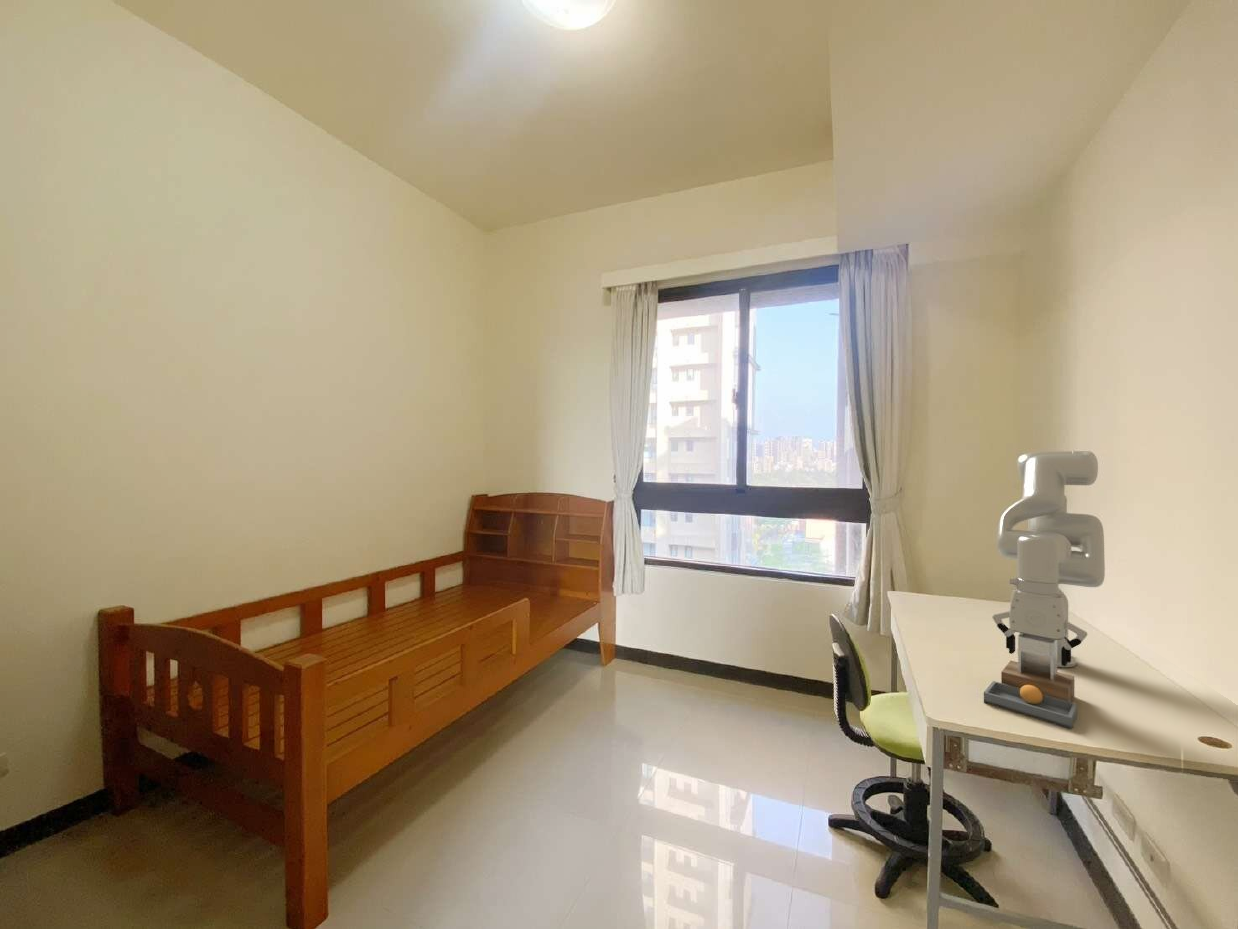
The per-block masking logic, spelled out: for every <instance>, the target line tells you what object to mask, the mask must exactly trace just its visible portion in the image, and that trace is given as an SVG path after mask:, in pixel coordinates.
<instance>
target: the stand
mask: <svg viewBox="0 0 1238 929" xmlns="http://www.w3.org/2000/svg"><path fill="white" fill-rule="evenodd" d="M1000 676H1001V678H1000V679H1001V681H1000V683H1003V684H1007V685H1010V686H1014V687H1018V688H1021V687H1023V686H1024V685H1032V686H1035V687H1036V688H1038V689H1039V690H1040V691H1041V693H1042V694H1043V695H1047V696H1051V697H1054V698H1058V699H1061V700H1065V701H1069V702H1072V703H1074V698H1075V675H1072V674H1067V673H1063V672H1059V671H1057V676H1056V678H1055V680H1054V682H1053V681H1051V673H1047V672H1043V671H1039V670H1035V669H1031V668H1027V667H1025V668H1024V670H1023V671H1022V673H1018V661H1015V660H1010V661H1009V662H1008V663H1007V665H1005V667H1004V668H1003V669H1002V670H1001V675H1000Z"/></svg>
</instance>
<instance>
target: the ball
mask: <svg viewBox="0 0 1238 929" xmlns="http://www.w3.org/2000/svg"><path fill="white" fill-rule="evenodd" d="M1020 695H1021V697H1022V698H1023V699H1024V700H1025V701H1026V702H1028V703H1030V704H1038V703H1040V702H1041V701H1042V699H1043V696H1042V693H1041V691H1040V690H1039V689H1038V688H1036V687H1035V686H1032V685H1024V686H1023V687H1021V689H1020Z"/></svg>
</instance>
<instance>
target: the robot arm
mask: <svg viewBox="0 0 1238 929" xmlns="http://www.w3.org/2000/svg"><path fill="white" fill-rule="evenodd" d="M1016 468H1017V473H1018V476H1019V480H1020V481H1021V484H1022V498H1021V499H1019V500H1018V501H1016V502H1015V503H1013V504H1011V505H1010V506H1009V507H1008V508H1007V509H1006V510H1004V512H1003V513H1002V514H1001V516H1000V518H999V520H998V524H997V525H998V526H997V534H996V549H997V551H998V554H1000V556H1002V557H1003V558H1006V559H1011V560H1016V566H1017V567H1016V568H1017V570H1016V571H1017V572H1016V573H1017V574H1016V576H1017V577H1016V578H1009V584H1010V585H1013V586H1015V587H1016V588H1015V589H1013V590H1012V592H1011V597H1010V604H1009V611H1004V612H1001V613H996V614H994V615H992V620H993V621H994V622H995V624H996V627H997V628H998V630H1000V631H1001V633H1003V635H1004V636H1005V644H1006V645H1005V648H1006V649H1007V650H1008V653H1009V654H1011V655H1012V654H1014V653H1015V652H1017V654H1018V648H1017V651H1016V635H1015V633H1019V634H1020V633H1023V634H1028V635H1032V636H1037V637H1042V638H1047V639H1052V640H1057V668H1073V667H1075V666H1076V665H1077V661H1076V660H1077V659H1075V657H1073V656H1072V649H1074V648H1075V647H1078V646H1079V645H1081V644H1082V642H1083V641H1084V640H1085V639H1086V637H1087V636H1088V632H1087V631H1085V630H1084V629H1083V628H1080V627H1078V626H1076V625H1075V624H1073V623H1071V622H1069V600H1068V597H1067V596H1066V594H1065V593H1064V591H1063V590H1061V589H1060V587H1059V585H1068V586H1076V587H1085V588H1099V587H1100V586H1102V585H1103V583H1104V581H1105V576H1106V574H1105V573H1106V572H1105V570H1106V569H1105V566H1106V564H1105V535H1104V534H1105V533H1104V532H1105V531H1104V526H1103V523H1102V521H1101V520H1100V518H1098V517H1097V516H1095V515H1093V514H1085V513H1071V512H1068V511H1067V509H1068V505H1067V504H1068V501H1067V500H1068V499H1067V496H1066V495H1065V486H1091V485H1094V484H1095V482H1096V480H1097V478H1098V474H1099V462H1098V459H1097V456H1096V455H1095V453H1094V452H1092V451H1086V450H1083V451H1082V450H1079V451H1078V450H1073V451H1071V450H1068V451H1064V450H1062V451H1058V450H1057V451H1054V450H1053V451H1048V450H1047V451H1045V450H1044V451H1033V452H1026V453H1023V454H1021V455H1020V456H1019V457H1018V459H1017V462H1016ZM1026 520H1027V530H1020V529H1013V528H1014V527H1015V526H1017V524H1019V523H1021V522H1025V521H1026ZM1072 548H1077V549H1079V550H1072ZM1004 619H1009V620H1008V626H1009V627H1008V626H1007V625H1006V624H1005V623H1004V622H1003V620H1004ZM1069 631H1071V632H1072V633H1074V634H1076V637H1074V638H1073V639H1069Z"/></svg>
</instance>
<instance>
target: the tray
mask: <svg viewBox="0 0 1238 929" xmlns="http://www.w3.org/2000/svg"><path fill="white" fill-rule="evenodd" d="M1020 689H1021V688H1018V687H1014V686H1010V685H1007V684H1003V683H1001V682H999V681H995V680H993V681H992V682H991V683H990V684H989V685H988V687H987V688H986V689H985V691H984V692H983V703H984V704H987V705H990V706H994V707H997V708H1000V709H1003V710H1006V711H1011V712H1013V713H1016V714H1020V715H1023V716H1026V717H1030V718H1034V719H1035V720H1038V721H1039V720H1040V721H1043V722H1047V723H1050V724H1053V725H1056V726H1060V727H1062V728H1065V729H1069V730H1072V728H1073V727H1074V724H1075V723H1076V722H1075V721H1076V718H1077V716H1078V703H1076V702H1069V701H1065V700H1061V699H1058V698H1054V697H1051V696H1047V695H1043V694H1042V696H1043V699H1042V701H1041V702H1040V703H1038V704H1030V703H1028V702H1026V701H1025V700H1024V699H1023V698H1022V697H1021V695H1020Z"/></svg>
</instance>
